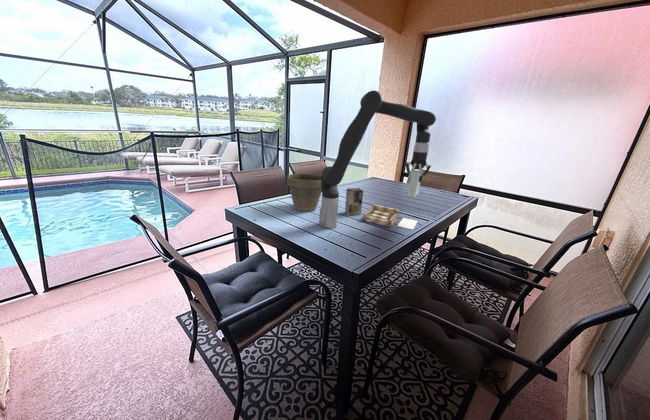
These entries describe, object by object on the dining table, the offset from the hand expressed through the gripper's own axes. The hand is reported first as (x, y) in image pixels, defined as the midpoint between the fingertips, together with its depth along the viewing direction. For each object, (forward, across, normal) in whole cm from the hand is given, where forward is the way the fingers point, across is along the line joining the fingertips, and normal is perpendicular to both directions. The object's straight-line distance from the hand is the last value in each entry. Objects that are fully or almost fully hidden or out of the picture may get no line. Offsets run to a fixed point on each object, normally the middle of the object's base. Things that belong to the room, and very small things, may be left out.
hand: (415, 181), depth 143 cm
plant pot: (+27, +65, +14) cm, 72 cm away
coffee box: (+27, +35, +3) cm, 44 cm away
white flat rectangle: (+26, 0, 0) cm, 26 cm away
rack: (+26, +16, +3) cm, 31 cm away
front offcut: (+27, +16, +7) cm, 32 cm away
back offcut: (+27, +16, +4) cm, 31 cm away
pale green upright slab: (+8, 0, 0) cm, 8 cm away
